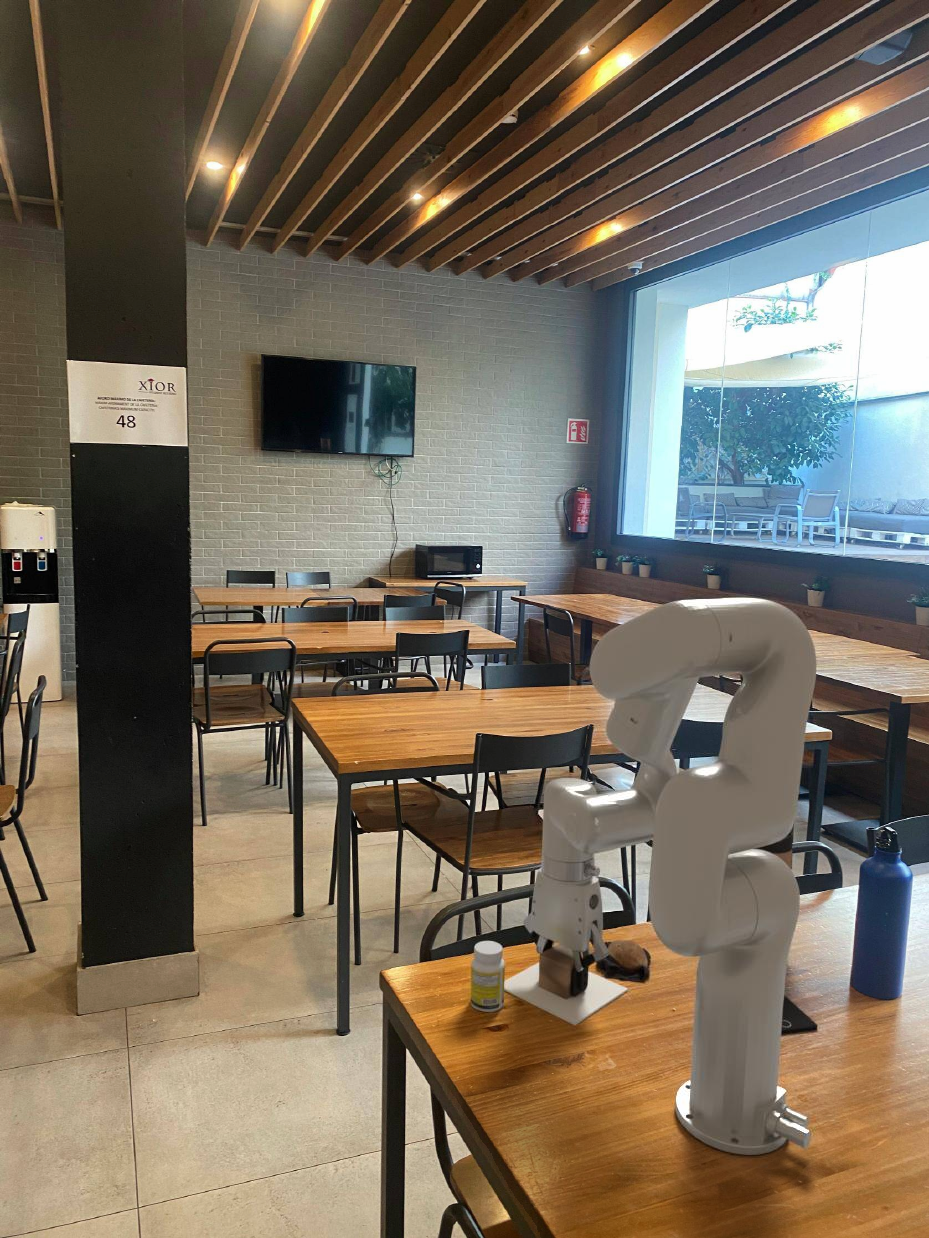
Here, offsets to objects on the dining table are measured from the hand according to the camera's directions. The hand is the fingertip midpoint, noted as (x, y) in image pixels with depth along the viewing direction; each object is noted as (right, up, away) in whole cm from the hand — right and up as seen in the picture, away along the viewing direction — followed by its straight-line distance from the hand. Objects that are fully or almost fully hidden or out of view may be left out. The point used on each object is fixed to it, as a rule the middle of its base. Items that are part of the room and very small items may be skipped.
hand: (562, 983), depth 130 cm
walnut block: (0, 0, 0) cm, 0 cm away
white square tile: (0, -1, 0) cm, 1 cm away
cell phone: (+28, -2, -1) cm, 28 cm away
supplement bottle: (-11, -1, -4) cm, 12 cm away
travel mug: (+34, 0, +14) cm, 36 cm away
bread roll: (+10, -1, +8) cm, 13 cm away
